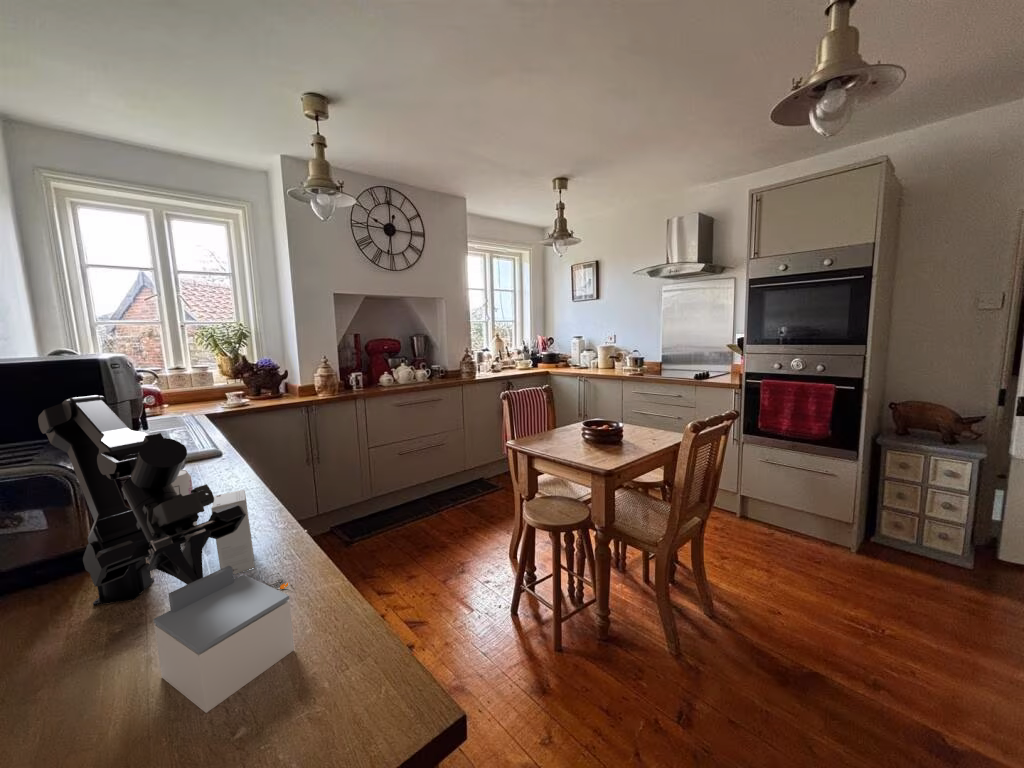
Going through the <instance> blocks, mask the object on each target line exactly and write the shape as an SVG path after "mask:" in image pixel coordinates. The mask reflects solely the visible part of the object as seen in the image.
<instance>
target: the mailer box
mask: <svg viewBox="0 0 1024 768" xmlns="http://www.w3.org/2000/svg"><path fill="white" fill-rule="evenodd" d="M291 612H292V611H291V603H290V600H287V601H286V602H284V603H282V604H281V605H279V606H277V607H276V608H274V609H272V610H271V611H269V612H267V613H266V614H264V615H262V616H261V617H259V618H257V619H256V620H254V621H252V622H250V623H249V624H247V625H245V626H244V627H242V628H240V629H239V630H237V631H235V632H234V633H232V634H230V635H229V636H227V637H225V638H224V639H222V640H220V641H219V642H217V643H215V644H214V645H212V646H210V647H209V648H207V649H205V650H204V651H202V652H200V653H199V654H198V653H197V652H195V651H194V650H193V649H191V648H190V647H188V646H187V645H185V644H184V643H182V642H181V641H179V640H178V639H177V638H175V637H174V636H172V635H171V634H169V633H168V632H166V631H165V630H163V629H162V628H161V627H159V626H158V625H156V624H155V623H154V625H153V627H154V633H155V640H156V647H157V655H158V662H159V669H160V675H161V678H162V679H163V680H164V681H166V682H167V683H168V684H169V685H170V686H172V687H173V689H176V691H178V692H179V693H181V694H182V695H183V696H184V697H185V698H186V699H188V700H189V701H190V702H192V703H193V704H194V705H195V706H197V707H198V708H199V709H201V710H202V711H203V712H204V713H206V714H207V713H208V712H210V711H211V710H212V709H214V708H215V707H216V706H218V705H220V704H221V703H222V702H224V701H225V700H226V699H228V698H230V697H231V696H232V695H233V694H235V693H236V692H237V691H239V690H241V689H242V688H244V686H246V685H247V684H249V683H250V682H252V681H253V680H254V679H256V678H257V677H258V676H260V675H261V674H263V673H264V672H265V671H267V670H268V669H270V668H271V667H273V665H275V664H277V663H279V661H281V660H282V659H284V658H285V657H287V656H288V655H289V654H291V653H292V652H294V651H295V643H294V634H293V624H292V623H293V622H292V613H291Z"/></svg>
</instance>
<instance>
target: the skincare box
mask: <svg viewBox="0 0 1024 768" xmlns="http://www.w3.org/2000/svg"><path fill="white" fill-rule="evenodd" d="M213 496H214V502H213V503H212V506H211V507H210V508H211V514H212V513H213V511H216V510H219V509H222V508H225V507H228V506H230V505H233V504H236V505H239V506H241V507H242V508H243V510H244V512H245V514H246V515H245V517H244V519H243V520H242V522H241V524H240V525H239V527H238V529H237V530H236V531H234V532H233V533H231V534H228V535H226V536H223V537H221V538H218V539H215V542H216V550H217V556H218V562H219V563H218V564H219V570H220V569H222V568H225V567H227V566H231V567H232V569H233V575H237V574H241V573H244V572H243V571H245V572H248V571H247V570H249V569H252V568H254V569H255V560H254V547H253V546H254V545H253V540H252V533H251V526H250V525H251V524H250V518H249V513H248V512H249V511H248V505H247V504H248V503H247V498H246V497H247V495H246V490H245V489H240V490H236V491H230V492H227V493H221V494H218V495H213ZM249 571H250V570H249ZM240 572H241V573H240Z"/></svg>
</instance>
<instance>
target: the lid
mask: <svg viewBox="0 0 1024 768" xmlns="http://www.w3.org/2000/svg"><path fill="white" fill-rule="evenodd" d="M276 589H277V588H276ZM276 589H274V588H272V586H268V584H266V583H263V582H261V581H259V580H257V579H255V578H252V577H250V576H248V575H246V574H242V575H240V576H237V577H235V578H234V574H233V569H232V567H231V566H227V567H225V568H222V569H220V568H219V569H218V570H216V571H214V572H212V573H210V574H207V575H205V576H203V578H201V579H199V580H196V581H194V582H192V583H190V584H188V585H187V584H185V585H184V586H181V587H180V588H177V589H175V590H173V591H171V592H169V593H168V594H167V595H168V600H169V602H168V603H169V608H170V610H169V611H167V612H164V613H163V614H161V615H158V616H157V617H155V618H153V619H152V620H153V623H154V625H155V624H156V625H158V626H159V627H161V628H162V629H163V630H165V631H166V632H168V633H169V634H171V635H172V636H174V637H175V638H177V639H178V640H179V641H181V642H182V643H184V644H185V645H187V646H188V647H190V648H191V649H193V650H194V651H195V652H197V653H198V654H199V653H200V652H202V651H204V650H205V649H207V648H209V647H210V646H212V645H214V644H215V643H217V642H219V641H220V640H222V639H224V638H225V637H227V636H229V635H230V634H232V633H234V632H235V631H237V630H239V629H240V628H242V627H244V626H245V625H247V624H249V623H250V622H252V621H254V620H256V619H257V618H259V617H261V616H262V615H264V614H266V613H267V612H269V611H271V610H272V609H274V608H276V607H277V606H279V605H281V604H282V603H284V602H286V601H287V600H288V601H290V595H289V594H288V593H285V592H283V591H282V592H281V590H276Z"/></svg>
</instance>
